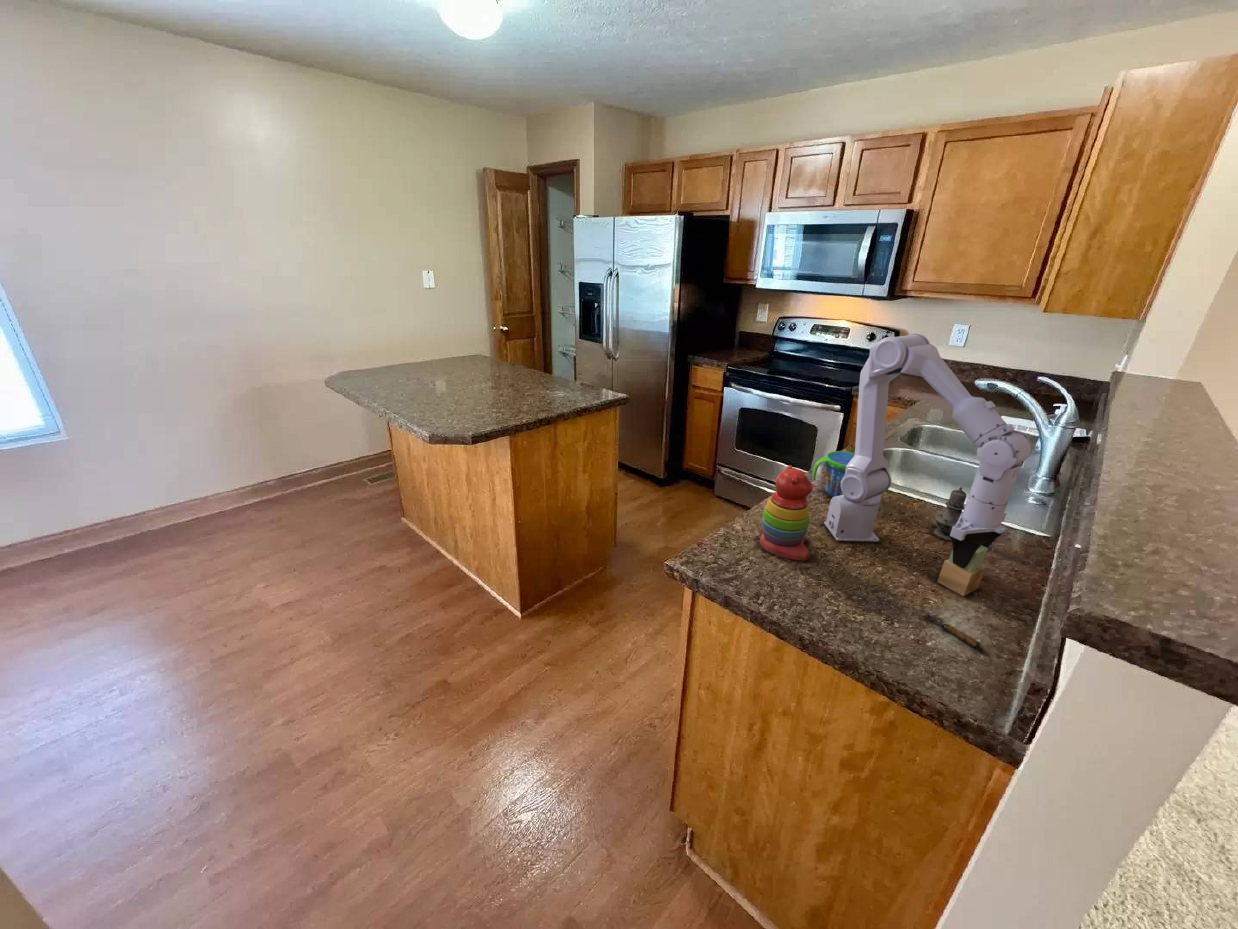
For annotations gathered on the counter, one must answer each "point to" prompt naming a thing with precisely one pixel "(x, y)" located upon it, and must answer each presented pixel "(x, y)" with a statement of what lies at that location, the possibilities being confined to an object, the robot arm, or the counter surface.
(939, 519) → the grey fire hydrant
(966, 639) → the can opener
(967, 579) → the base block
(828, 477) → the snack cup
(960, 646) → the counter surface
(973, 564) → the top cube
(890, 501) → the counter surface
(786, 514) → the stacking bear
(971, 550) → the robot arm
